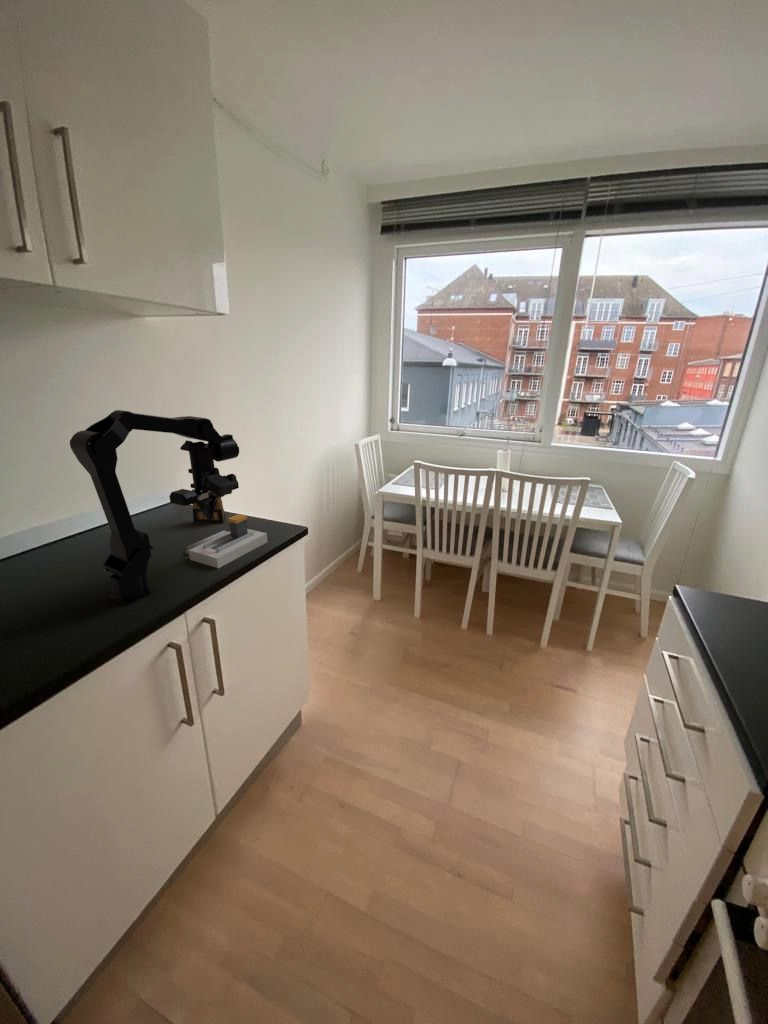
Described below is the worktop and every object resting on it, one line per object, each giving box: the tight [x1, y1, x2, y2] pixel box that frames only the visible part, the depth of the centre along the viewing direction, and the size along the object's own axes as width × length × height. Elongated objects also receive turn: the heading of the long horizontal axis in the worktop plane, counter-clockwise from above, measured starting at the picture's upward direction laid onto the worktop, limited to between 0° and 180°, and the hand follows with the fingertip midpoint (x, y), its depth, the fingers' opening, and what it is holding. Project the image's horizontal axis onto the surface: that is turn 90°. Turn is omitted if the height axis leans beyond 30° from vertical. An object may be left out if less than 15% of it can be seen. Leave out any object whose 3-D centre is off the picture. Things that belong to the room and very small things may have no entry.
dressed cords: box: [184, 529, 230, 555], centre depth 130 cm, size 17×3×1 cm, turn 154°
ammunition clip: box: [191, 488, 227, 524], centre depth 145 cm, size 11×2×12 cm, turn 88°
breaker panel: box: [188, 528, 268, 569], centre depth 125 cm, size 20×11×4 cm, turn 154°
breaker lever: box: [227, 513, 248, 538], centre depth 127 cm, size 4×3×6 cm
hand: (210, 519), depth 117 cm, fingers closed
